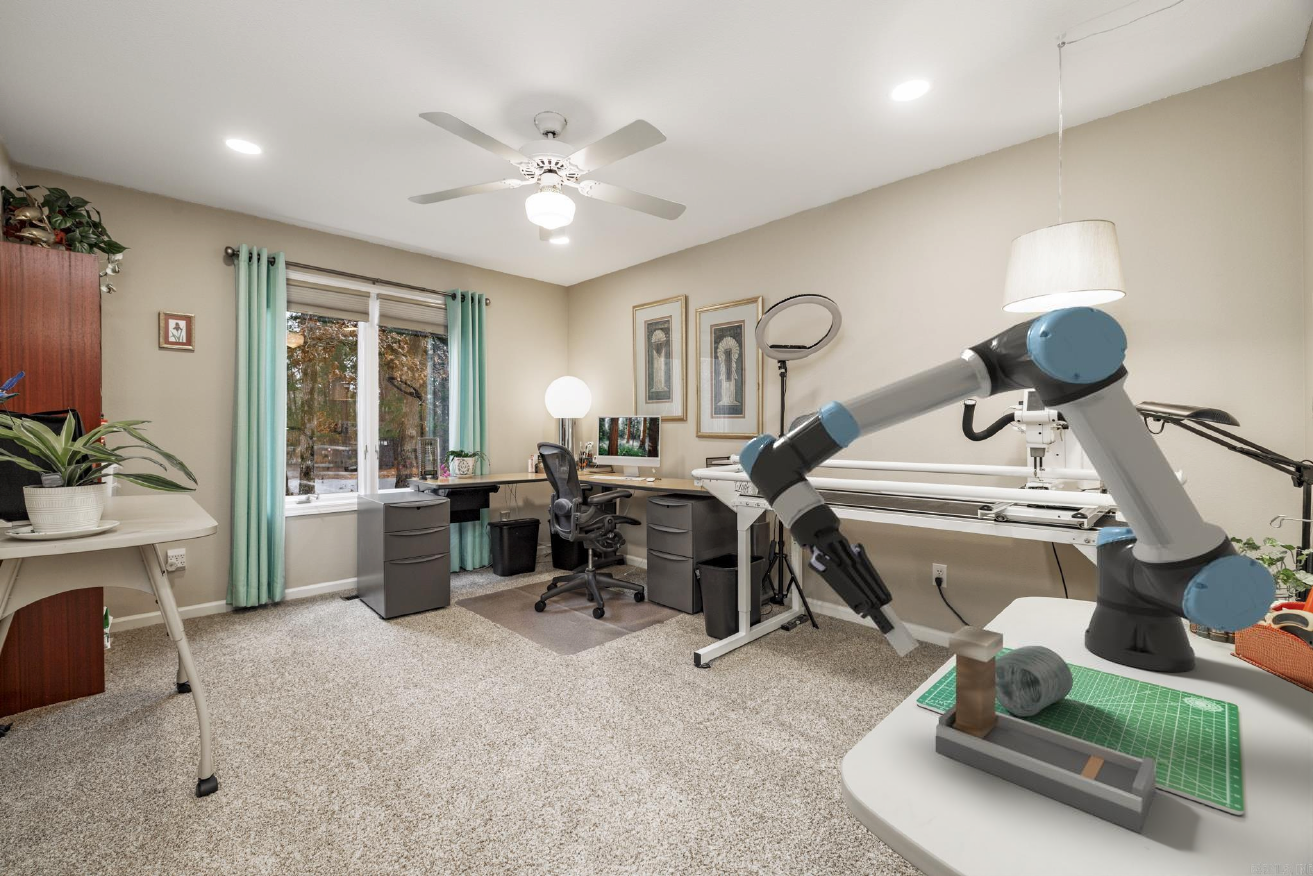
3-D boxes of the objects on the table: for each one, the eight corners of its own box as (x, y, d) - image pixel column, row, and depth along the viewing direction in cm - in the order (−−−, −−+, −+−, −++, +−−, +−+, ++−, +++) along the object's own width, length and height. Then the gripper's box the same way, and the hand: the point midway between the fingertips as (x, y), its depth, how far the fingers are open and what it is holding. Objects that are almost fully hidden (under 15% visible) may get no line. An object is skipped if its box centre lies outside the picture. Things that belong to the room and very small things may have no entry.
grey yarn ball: (1046, 713, 76) (1021, 634, 81) (981, 718, 83) (962, 645, 88) (1103, 716, 81) (1077, 642, 86) (1037, 720, 89) (1017, 652, 94)
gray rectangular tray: (935, 751, 73) (935, 720, 73) (965, 723, 79) (965, 695, 79) (1140, 833, 58) (1140, 794, 58) (1155, 790, 65) (1155, 755, 64)
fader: (946, 730, 73) (947, 637, 73) (967, 712, 78) (967, 624, 77) (984, 744, 70) (985, 647, 69) (1003, 724, 74) (1004, 632, 74)
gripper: (815, 526, 98) (911, 652, 86) (768, 536, 89) (868, 677, 77) (843, 498, 94) (949, 626, 82) (797, 505, 85) (908, 649, 73)
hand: (910, 651), depth 79 cm, fingers closed
